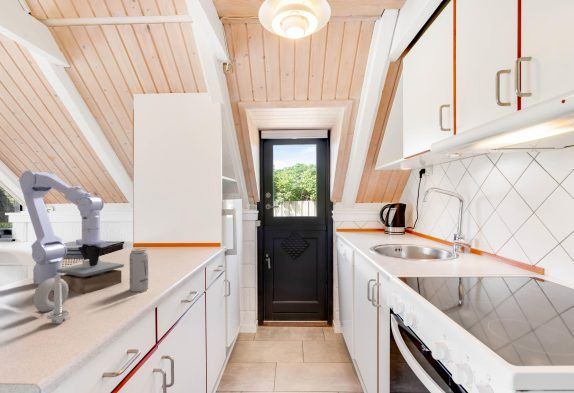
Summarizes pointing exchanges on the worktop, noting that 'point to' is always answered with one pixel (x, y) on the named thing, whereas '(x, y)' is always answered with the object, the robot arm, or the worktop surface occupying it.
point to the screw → (57, 303)
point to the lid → (89, 268)
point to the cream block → (98, 274)
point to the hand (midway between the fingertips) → (91, 265)
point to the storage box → (92, 281)
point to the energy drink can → (138, 270)
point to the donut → (43, 292)
